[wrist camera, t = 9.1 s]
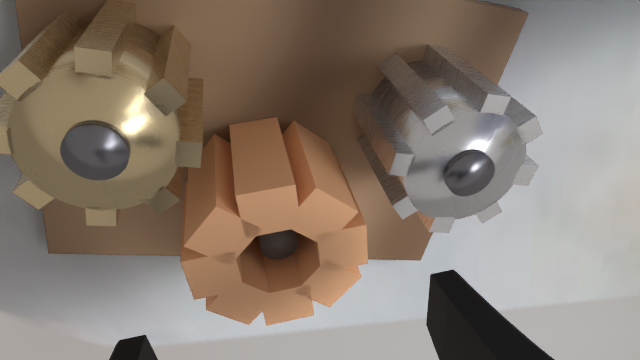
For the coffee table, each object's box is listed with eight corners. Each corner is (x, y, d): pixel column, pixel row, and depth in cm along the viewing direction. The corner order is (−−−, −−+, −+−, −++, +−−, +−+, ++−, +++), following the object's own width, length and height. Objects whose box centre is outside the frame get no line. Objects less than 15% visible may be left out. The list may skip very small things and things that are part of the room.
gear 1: (208, 15, 13) (209, 70, 10) (197, 153, 16) (195, 236, 12) (26, -15, 12) (-48, 36, 8) (44, 141, 14) (-8, 230, 11)
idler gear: (332, 107, 16) (364, 171, 12) (341, 227, 19) (369, 302, 16) (170, 134, 15) (161, 209, 12) (208, 253, 18) (208, 338, 15)
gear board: (518, 8, 16) (594, 44, 13) (415, 251, 21) (450, 316, 18) (11, -94, 11) (-61, -78, 8) (52, 242, 17) (19, 325, 14)
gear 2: (497, 55, 16) (578, 110, 12) (449, 168, 18) (506, 241, 15) (372, 34, 14) (424, 89, 11) (338, 159, 17) (372, 236, 13)
